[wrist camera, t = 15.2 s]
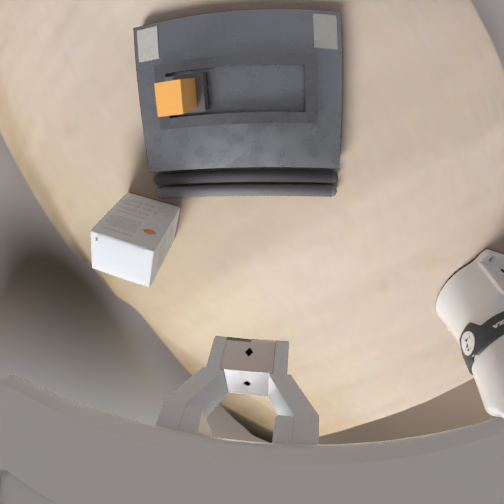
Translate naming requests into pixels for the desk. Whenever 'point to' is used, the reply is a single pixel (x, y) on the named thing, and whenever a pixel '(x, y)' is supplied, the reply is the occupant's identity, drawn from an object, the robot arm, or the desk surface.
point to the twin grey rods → (247, 188)
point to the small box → (134, 238)
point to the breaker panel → (245, 89)
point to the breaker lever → (182, 94)
